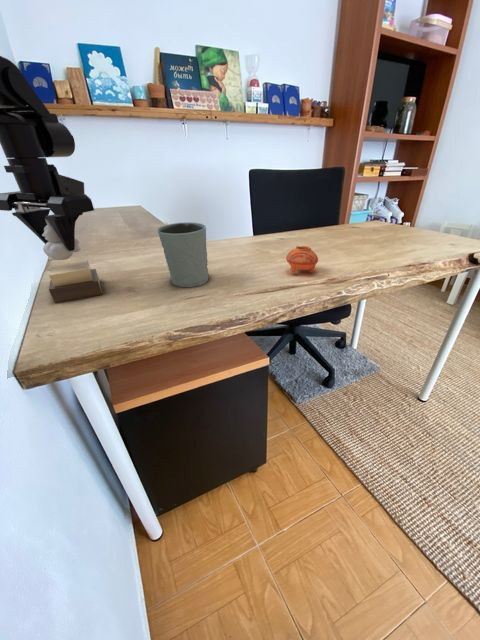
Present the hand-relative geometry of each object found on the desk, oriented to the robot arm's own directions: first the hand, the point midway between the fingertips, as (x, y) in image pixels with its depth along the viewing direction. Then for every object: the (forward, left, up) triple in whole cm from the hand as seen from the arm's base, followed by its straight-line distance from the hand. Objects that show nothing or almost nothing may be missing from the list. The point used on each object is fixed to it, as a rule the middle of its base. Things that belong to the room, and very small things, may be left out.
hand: (62, 249), depth 60 cm
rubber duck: (0, 0, -2) cm, 2 cm away
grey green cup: (+14, -20, -9) cm, 26 cm away
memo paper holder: (0, 0, -9) cm, 9 cm away
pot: (+29, -43, -9) cm, 53 cm away
